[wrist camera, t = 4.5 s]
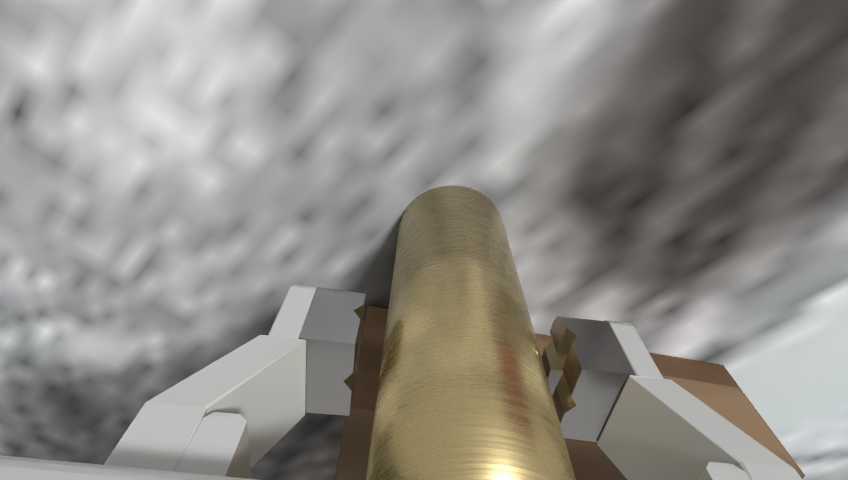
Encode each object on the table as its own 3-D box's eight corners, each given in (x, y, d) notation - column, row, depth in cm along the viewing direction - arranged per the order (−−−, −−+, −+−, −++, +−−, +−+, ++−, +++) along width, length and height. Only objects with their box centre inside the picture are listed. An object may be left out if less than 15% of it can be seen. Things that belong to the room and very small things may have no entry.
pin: (488, 285, 14) (573, 761, 6) (390, 268, 14) (324, 739, 5) (516, 196, 13) (689, 654, 4) (409, 176, 13) (357, 617, 4)
